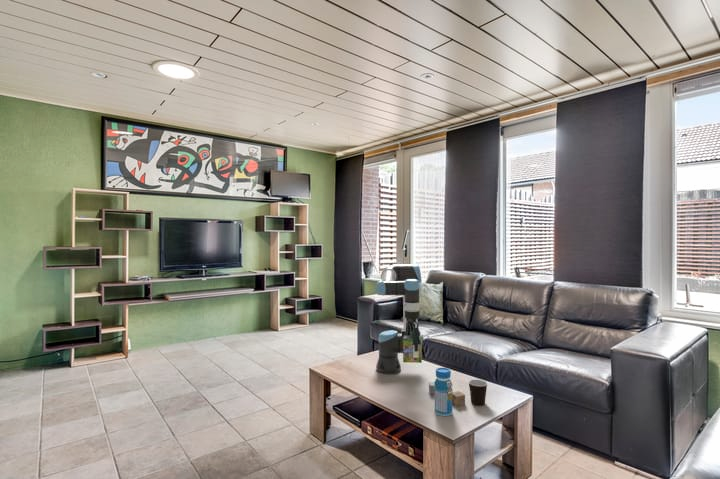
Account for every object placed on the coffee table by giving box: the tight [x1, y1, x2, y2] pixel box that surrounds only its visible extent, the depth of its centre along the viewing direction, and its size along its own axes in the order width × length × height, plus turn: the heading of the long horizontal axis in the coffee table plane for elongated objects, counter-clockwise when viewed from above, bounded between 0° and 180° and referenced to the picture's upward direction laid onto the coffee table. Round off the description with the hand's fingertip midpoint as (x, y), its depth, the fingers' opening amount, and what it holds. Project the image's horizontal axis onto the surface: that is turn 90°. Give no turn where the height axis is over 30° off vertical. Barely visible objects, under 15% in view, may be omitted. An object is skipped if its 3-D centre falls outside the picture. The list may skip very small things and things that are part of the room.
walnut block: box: [452, 390, 466, 408], centre depth 189 cm, size 5×5×5 cm
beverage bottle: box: [434, 367, 454, 417], centre depth 180 cm, size 8×8×20 cm
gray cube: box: [428, 381, 435, 396], centre depth 202 cm, size 5×5×5 cm
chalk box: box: [402, 331, 423, 364], centre depth 195 cm, size 9×9×15 cm
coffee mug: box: [468, 379, 488, 407], centre depth 191 cm, size 12×9×10 cm
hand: (412, 353), depth 195 cm, fingers closed on chalk box, 11 cm apart
